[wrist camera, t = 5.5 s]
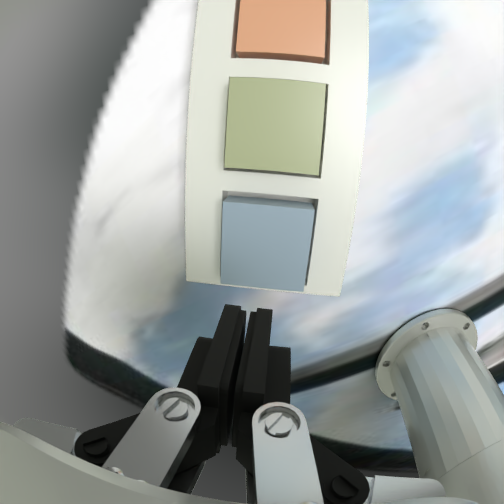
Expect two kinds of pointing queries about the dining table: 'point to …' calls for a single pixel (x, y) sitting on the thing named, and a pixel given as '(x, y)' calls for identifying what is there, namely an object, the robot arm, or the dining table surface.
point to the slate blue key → (265, 242)
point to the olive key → (274, 125)
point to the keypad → (275, 182)
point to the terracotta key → (282, 30)
